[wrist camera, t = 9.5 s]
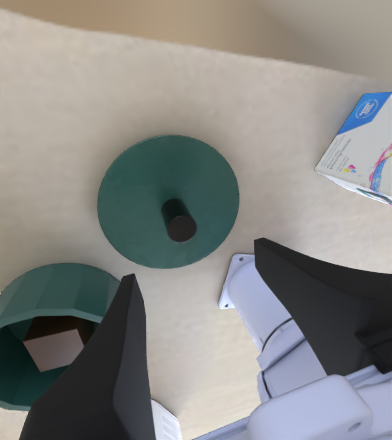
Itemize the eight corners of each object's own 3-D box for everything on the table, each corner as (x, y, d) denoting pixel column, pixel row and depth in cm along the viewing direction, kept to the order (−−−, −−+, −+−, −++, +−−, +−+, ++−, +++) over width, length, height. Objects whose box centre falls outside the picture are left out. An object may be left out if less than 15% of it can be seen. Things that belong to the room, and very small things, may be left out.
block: (84, 295, 24) (76, 328, 20) (94, 323, 25) (89, 359, 22) (39, 304, 23) (22, 341, 19) (53, 333, 25) (40, 372, 21)
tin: (111, 248, 23) (105, 289, 18) (142, 331, 28) (144, 380, 23) (-30, 284, 21) (-83, 342, 15) (33, 366, 26) (10, 428, 21)
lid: (230, 121, 20) (258, 125, 16) (238, 245, 27) (260, 272, 22) (75, 149, 18) (58, 162, 14) (122, 276, 24) (121, 314, 20)
